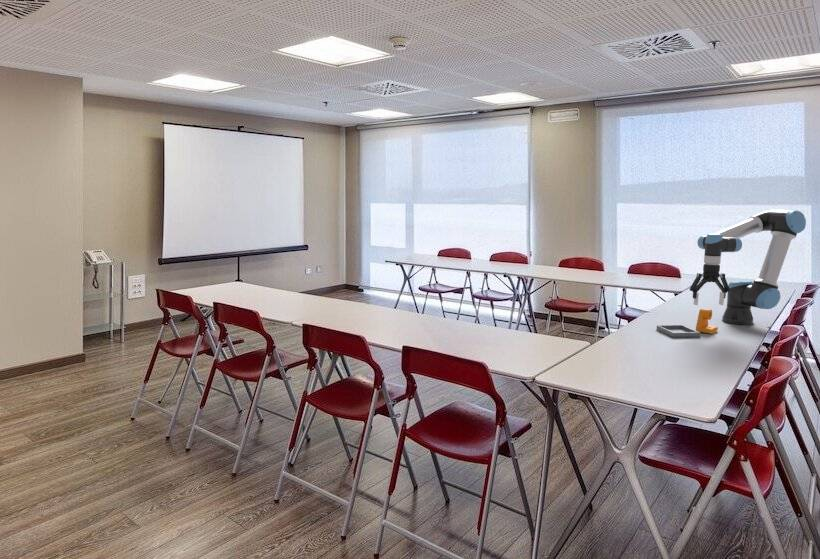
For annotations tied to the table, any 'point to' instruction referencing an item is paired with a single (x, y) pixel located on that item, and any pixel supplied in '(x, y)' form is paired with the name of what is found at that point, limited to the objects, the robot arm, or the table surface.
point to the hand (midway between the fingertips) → (708, 304)
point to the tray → (678, 331)
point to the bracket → (705, 322)
